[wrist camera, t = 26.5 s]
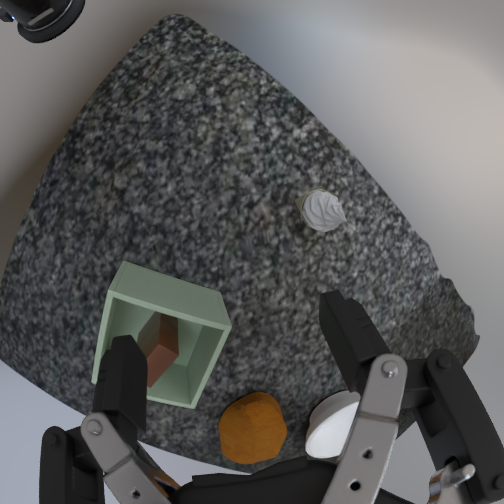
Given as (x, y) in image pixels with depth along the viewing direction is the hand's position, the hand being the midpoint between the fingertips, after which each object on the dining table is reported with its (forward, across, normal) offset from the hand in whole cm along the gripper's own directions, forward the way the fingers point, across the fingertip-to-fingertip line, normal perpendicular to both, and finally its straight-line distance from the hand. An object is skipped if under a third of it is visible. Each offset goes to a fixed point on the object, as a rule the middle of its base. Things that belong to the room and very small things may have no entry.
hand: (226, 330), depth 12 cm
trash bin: (+25, +13, +22) cm, 36 cm away
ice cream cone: (+31, -12, +10) cm, 35 cm away
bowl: (+19, -16, +59) cm, 64 cm away
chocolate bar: (+24, +13, +22) cm, 35 cm away
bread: (+19, +5, +50) cm, 54 cm away
